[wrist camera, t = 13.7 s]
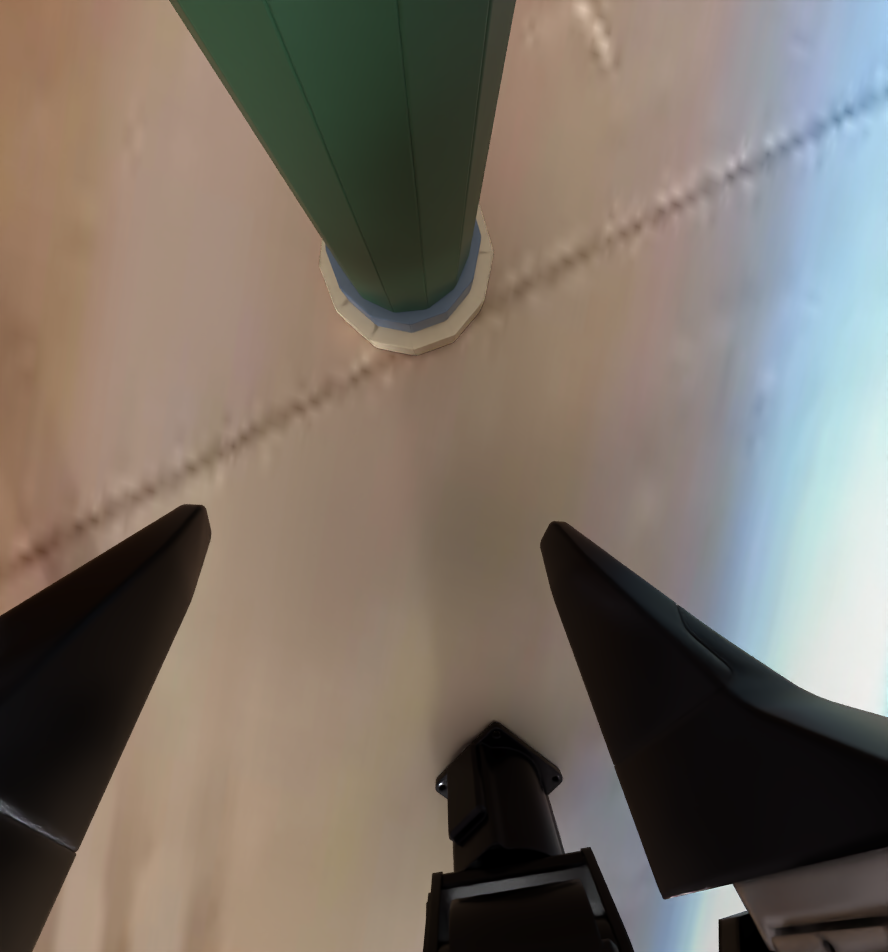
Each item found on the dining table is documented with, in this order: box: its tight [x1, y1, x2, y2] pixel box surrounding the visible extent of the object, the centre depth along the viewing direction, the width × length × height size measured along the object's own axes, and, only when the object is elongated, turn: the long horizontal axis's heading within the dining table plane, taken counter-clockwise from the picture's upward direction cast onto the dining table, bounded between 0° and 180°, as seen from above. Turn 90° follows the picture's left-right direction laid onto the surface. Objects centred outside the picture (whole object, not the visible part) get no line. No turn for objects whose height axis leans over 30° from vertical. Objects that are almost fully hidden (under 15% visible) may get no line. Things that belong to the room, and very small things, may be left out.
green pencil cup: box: [169, 0, 516, 313], centre depth 10 cm, size 6×6×12 cm
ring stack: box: [319, 204, 494, 356], centre depth 18 cm, size 9×9×3 cm
